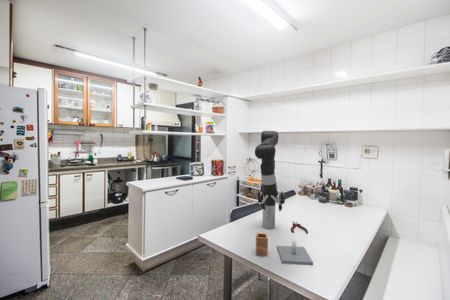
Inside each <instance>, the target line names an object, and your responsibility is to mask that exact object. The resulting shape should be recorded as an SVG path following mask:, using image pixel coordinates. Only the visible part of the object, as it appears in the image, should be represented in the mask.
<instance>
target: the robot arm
mask: <svg viewBox="0 0 450 300" xmlns="http://www.w3.org/2000/svg"><path fill="white" fill-rule="evenodd" d="M278 142H279V134H278V132H277V131H276V130H263V131H261V134H260V144H257V145H256V146H255V149H254V155H255V158H257V159H259V160H261V163H260V167H259V168H260V174H261V175H260V176H261V177H260V179H261V180H260V181H261V186H260V187H261V188H260V189H261V190H259V191H258V192H257V194H256V195H257V202H258V203H260V204H261V207H262V222H261V224H262V228H264V229H266V230H273V229H275V226H276V203H277V204H278V205H277V206H278V211H279V212H281V211H282V209H283V205H284V204H285V203H286V199H285V194H284V191H281V192H280V191H279V192H278V185H277V178H276V173H275V170H276V160H275V158H276V153H277V151H276V145H278ZM262 195H263V199H262ZM278 196H279V197H278Z"/></svg>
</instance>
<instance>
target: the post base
mask: <svg viewBox="0 0 450 300" xmlns="http://www.w3.org/2000/svg"><path fill="white" fill-rule="evenodd" d="M276 250H277V253H278V255H279V257H280V260H281V264H285V265H286V264H289V265H301V266H302V265H305V266H306V265H307V266H313V265H314V261H313V260H312V258H311V257H310V254H309V253H308V251H307V250H306V248H305V246H297V240H295V239H294V240H293V239H292V241H291V245H276Z"/></svg>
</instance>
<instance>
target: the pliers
mask: <svg viewBox="0 0 450 300" xmlns="http://www.w3.org/2000/svg"><path fill="white" fill-rule="evenodd" d="M296 227H297V228H299V229H300V230H302V231H304V232H305V234H309V231H308V229H307V228H306V227H304V226H303V225H301V223H298V222H297V221H296V222H295V221H294V220H292V226H291V227H290V231H291V233H292V234H294V233H295V232H294V231H295V230H294V229H296Z"/></svg>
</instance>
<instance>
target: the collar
mask: <svg viewBox="0 0 450 300" xmlns="http://www.w3.org/2000/svg"><path fill="white" fill-rule="evenodd" d="M268 244H269V238H268V234H267V233H263V232H255V253H256V256H268V250H269V248H268V246H269V245H268Z"/></svg>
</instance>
